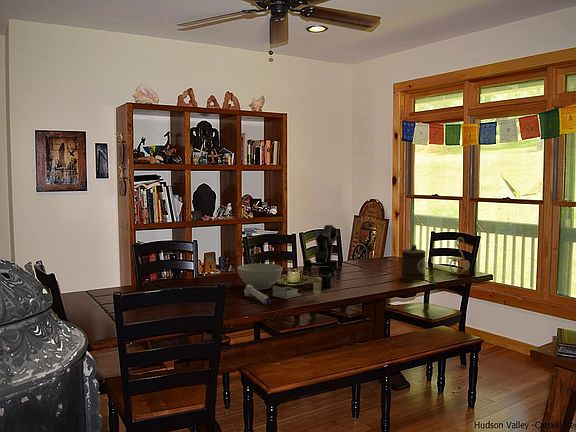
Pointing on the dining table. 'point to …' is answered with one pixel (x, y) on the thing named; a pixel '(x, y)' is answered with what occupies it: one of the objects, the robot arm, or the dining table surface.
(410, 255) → the wooden container
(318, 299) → the cream cylinder
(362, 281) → the dining table surface
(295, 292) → the grey rectangular box
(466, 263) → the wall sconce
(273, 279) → the decorative bowl
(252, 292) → the grey pestle
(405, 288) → the dining table surface
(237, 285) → the dining table surface
